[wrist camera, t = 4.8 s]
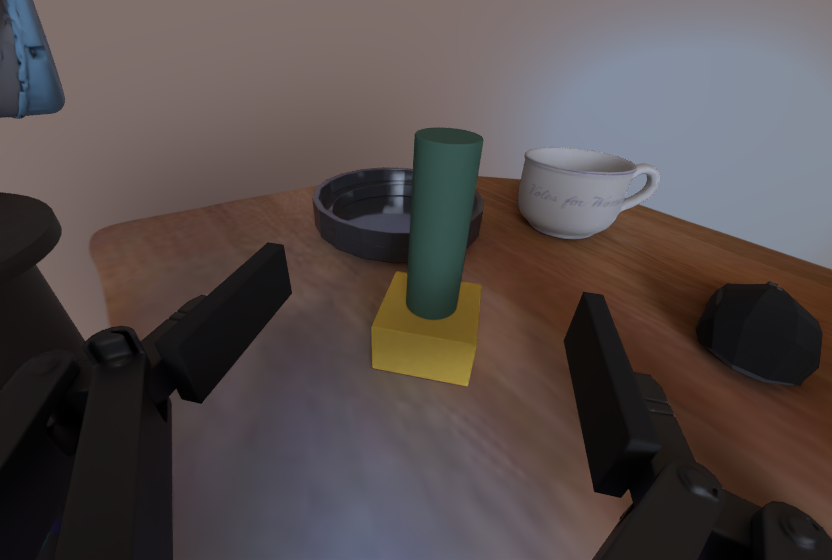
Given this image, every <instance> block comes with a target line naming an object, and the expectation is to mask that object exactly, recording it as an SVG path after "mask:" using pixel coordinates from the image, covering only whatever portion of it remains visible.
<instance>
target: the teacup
mask: <svg viewBox="0 0 832 560" xmlns="http://www.w3.org/2000/svg"><path fill="white" fill-rule="evenodd" d="M640 174H646V175H647V183H646V185H645V186H644V188H643V189H642V190H640V191H639V192H638V193H636V194H635V195H633V196H631V197H629V198H627V199H625V196H626V194H627V191H628V188H629V185H630V182H631V181H632V180H633V179H634V178H635V177H636V176H638V175H640ZM659 183H660V174H659V172H658V170H657V169H656V168H654V167H653V166H651V165H649V164H637V165H635V164H633V163H632V162H631V161H628V160H626V159H624V158H621V157H618V156H614V155H611V154H606V153H600V152H596V151H589V150H581V149H574V148H560V147H548V148H545V147H544V148H535V149H530V150H528V151H527V152H526V153H525V163H524V168H523V172H522V177H521V183H520V189H519V196H518V205H519V209H520V212H521V214H522V215H523V216H524V217H525V218H526V219H527V220H528V222H529V224H530V225H531V226H532V227H533V228H534V229H536V230H537V231H539V232H541V233H543V234H546V235H549V236H553V237H557V238H564V239H583V238H587V237H590V236H592V235H593V234H595V233H598V232H601V231H603V230H605V229H606V228H608V227H609V226H610V225H611V224H612V223H613V222H614V221H615V219H616V217H617V215H618V214H619V213H620V212H621V211H623V210H626V209H628V208H631V207H633V206H636V205H638V204H640V203H642V202H643V201H645V200H647V199H648V198H650V197H651V196H652V195H653V194H654V193H655V191H656V190H657V188H658V186H659Z"/></svg>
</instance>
